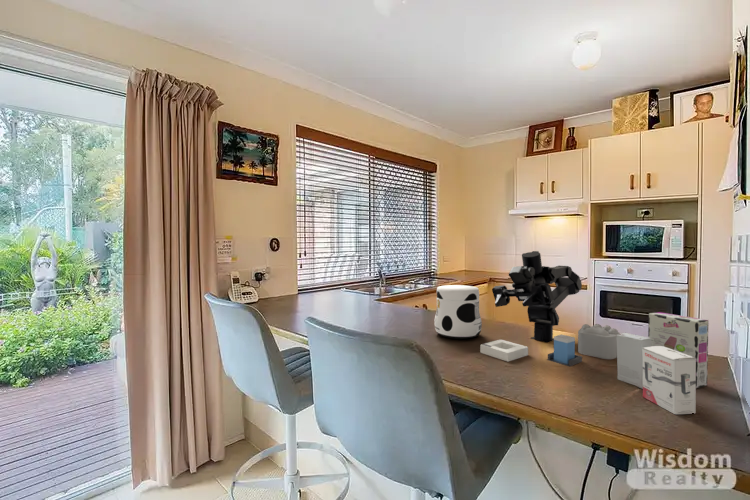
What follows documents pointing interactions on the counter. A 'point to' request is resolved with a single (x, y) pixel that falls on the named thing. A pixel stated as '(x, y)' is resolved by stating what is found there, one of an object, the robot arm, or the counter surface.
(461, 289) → the milk container
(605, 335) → the grey lumpy container
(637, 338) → the skincare box
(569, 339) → the plug
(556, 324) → the robot arm
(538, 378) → the counter surface
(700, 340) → the candy bar box
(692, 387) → the ink box
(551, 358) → the grey shallow square piece
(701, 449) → the counter surface
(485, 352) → the port
